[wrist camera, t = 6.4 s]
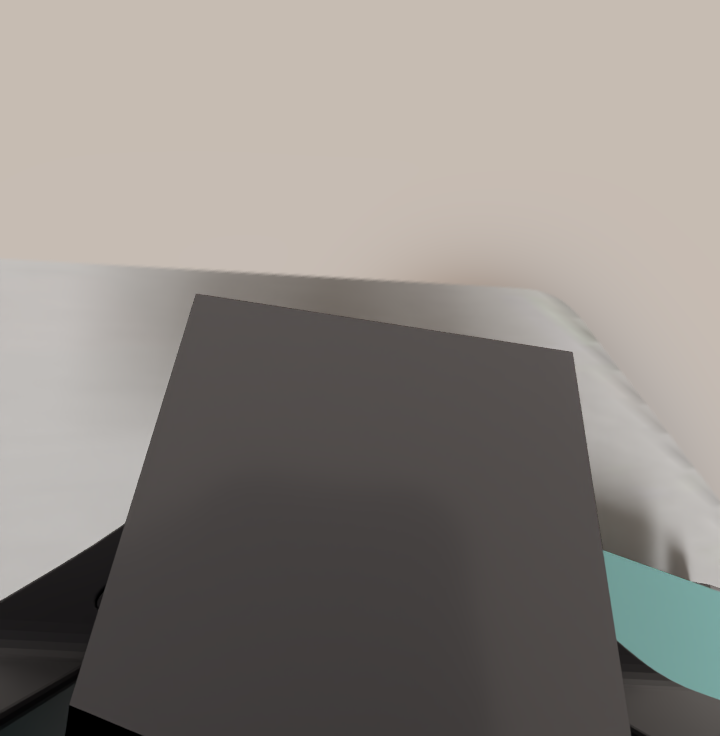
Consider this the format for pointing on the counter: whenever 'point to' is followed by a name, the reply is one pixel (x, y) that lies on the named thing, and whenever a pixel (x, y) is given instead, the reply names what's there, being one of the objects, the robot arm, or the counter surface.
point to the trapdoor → (667, 623)
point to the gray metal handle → (357, 542)
